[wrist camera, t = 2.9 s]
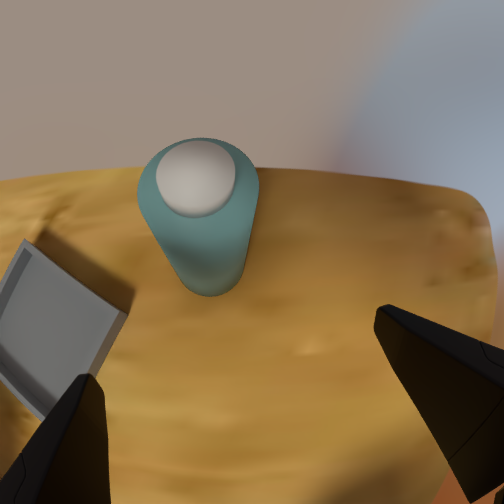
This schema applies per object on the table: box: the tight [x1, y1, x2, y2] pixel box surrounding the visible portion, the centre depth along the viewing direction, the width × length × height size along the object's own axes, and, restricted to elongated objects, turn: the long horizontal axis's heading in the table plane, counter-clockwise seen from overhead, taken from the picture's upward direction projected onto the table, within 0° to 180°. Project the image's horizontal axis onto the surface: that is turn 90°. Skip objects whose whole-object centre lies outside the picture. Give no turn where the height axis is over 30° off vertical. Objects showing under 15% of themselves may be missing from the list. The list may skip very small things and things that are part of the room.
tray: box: [0, 238, 128, 422], centre depth 18 cm, size 11×11×2 cm
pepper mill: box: [137, 138, 259, 297], centre depth 16 cm, size 5×5×12 cm
